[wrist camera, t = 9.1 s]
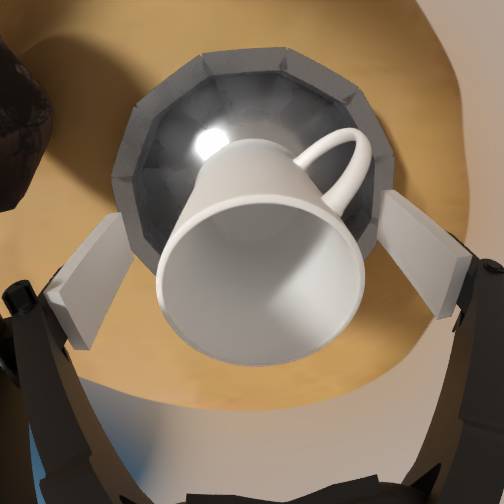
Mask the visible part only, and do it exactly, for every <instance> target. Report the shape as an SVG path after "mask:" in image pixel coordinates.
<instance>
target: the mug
mask: <svg viewBox="0 0 504 504" xmlns="http://www.w3.org/2000/svg"><path fill="white" fill-rule="evenodd" d="M348 141H356V148H355V151H354V154H353V157H352V159H351V161H350V163H349V165H348V166H347V168H346V170H345V171H344V173H343V174H342V175H341V177H340V178H339V180H338V181H337V182H336V183H335V184H334V186H333V187H332V188H331V189H330V190H329V191H327V192H326V193H325V194H324V195H322V193H321V192H320V191H319V189H318V188H317V187H316V185H315V184H314V183H313V182H312V180H311V179H310V178H309V175H308V173H307V171H306V169H307V168H308V167H309V166H310V165H311V163H313V162H314V161H315V160H316V159H317V158H318V157H320V156H321V155H322V154H324V153H325V152H327V151H328V150H330V149H332V148H333V147H335V146H337V145H339V144H342V143H345V142H348ZM371 156H372V149H371V144H370V142H369V140H368V138H367V137H366V136H365V135H364V134H363V133H362V132H361V131H359V130H358V129H355V128H343V129H339V130H336V131H334V132H332V133H330V134H328V135H326V136H324V137H323V138H321V139H320V140H318V141H317V142H315V143H314V144H313V145H311V146H310V147H309V148H307V149H306V150H305V151H304V152H303V153H301V154H300V155H299V156H298V157H297V156H296V155H295V154H293V153H292V152H291V151H290V150H288V149H287V148H285V147H284V146H282V145H280V144H278V143H275V142H272V141H269V140H264V139H242V140H238V141H234V142H231V143H229V144H227V145H225V146H223V147H221V148H220V149H218V150H217V151H215V152H214V153H213V154H212V155H211V156H210V157H209V158H208V159H207V160H206V161H205V163H204V164H203V166H202V167H201V169H200V171H199V173H198V175H197V178H196V181H195V186H194V190H193V191H192V193H191V195H190V197H189V199H188V201H187V203H186V205H185V207H184V209H183V211H182V213H181V215H180V217H179V219H178V221H177V223H176V225H175V227H174V229H173V231H172V233H171V235H170V237H169V239H168V241H167V244H166V246H165V248H164V250H163V252H162V255H161V258H160V261H159V264H158V268H157V275H156V292H157V298H158V302H159V305H160V308H161V310H162V313H163V315H164V317H165V319H166V320H167V322H168V324H169V325H170V327H171V328H172V329H173V330H174V332H175V333H176V334H177V335H178V336H179V337H180V338H181V339H182V340H183V341H184V342H186V343H187V344H188V345H189V346H191V347H192V348H194V349H195V350H197V351H199V352H200V353H202V354H204V355H206V356H208V357H211V358H213V359H216V360H219V361H222V362H225V363H229V364H234V365H240V366H251V367H263V366H274V365H280V364H285V363H289V362H293V361H296V360H299V359H302V358H304V357H307V356H309V355H311V354H313V353H315V352H317V351H318V350H320V349H322V348H323V347H325V346H326V345H328V344H329V343H330V342H332V341H333V340H334V339H335V338H336V337H337V336H339V335H340V334H341V333H342V331H343V330H344V329H345V328H346V327H347V326H348V324H349V323H350V322H351V320H352V319H353V317H354V315H355V314H356V312H357V310H358V308H359V305H360V303H361V300H362V297H363V293H364V287H365V267H364V261H363V257H362V254H361V251H360V249H359V247H358V244H357V242H356V241H355V239H354V237H353V236H352V234H351V233H350V231H349V230H348V228H347V227H346V225H345V224H344V223H343V221H342V220H341V219H340V217H341V216H342V214H343V212H344V210H345V208H346V206H347V205H348V204H349V202H350V201H351V199H352V198H353V197H354V195H355V194H356V192H357V191H358V189H359V187H360V186H361V184H362V182H363V180H364V178H365V176H366V174H367V171H368V169H369V166H370V162H371Z"/></svg>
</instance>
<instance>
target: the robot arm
mask: <svg viewBox="0 0 504 504" xmlns="http://www.w3.org/2000/svg"><path fill="white" fill-rule="evenodd" d="M377 240H378V241H379V242H380V243H381V245H382V246H383V247H384V248H385V250H386V251H387V252H388V253H389V255H390V256H391V257H392V259H393V260H394V261H395V262H396V264H397V265H398V266H399V268H400V269H401V270H402V272H403V273H404V274H405V276H406V277H407V278H408V280H409V281H410V282H411V284H412V285H413V286H414V288H415V289H416V291H417V292H418V293H419V295H420V296H421V298H422V299H423V300H424V302H425V303H426V305H427V306H428V308H429V309H430V310H431V312H432V313H433V315H434V316H435V318H436V319H437V320H438V319H442V318H446V317H450V316H452V313H453V311H454V308H455V306H456V304H457V305H458V306H459V308H460V309H461V311H460V314H459V316H458V319H457V321H456V323H455V326H454V328H453V330H452V332H455V330H456V332H455V336H454V341H453V346H452V351H451V355H450V360H449V364H448V368H447V372H446V375H445V379H444V383H443V386H442V390H441V393H440V397H439V400H438V403H437V406H436V410H435V412H434V415H433V418H432V421H431V424H430V427H429V429H428V432H427V435H426V437H425V440H424V442H423V445H422V447H421V450H420V452H419V454H418V457H417V459H416V461H415V463H414V465H413V466H412V468H411V469H410V471H409V472H408V474H407V475H406V477H405V478H404V480H403V481H402V483H401V484H396V483H389V482H379V481H378V477H377V474H376V475H372V476H368V477H365V478H360V479H356V480H352V481H347V482H343V483H338V484H333V485H331V486H328V487H326V488H323V489H321V490H318V491H316V492H313V493H311V494H308V495H306V496H303V497H300V498H297V499H295V500H292V501H289V502H273V501H265V500H259V499H252V498H247V497H242V496H236V495H204V494H187V495H186V502H181V503H177V504H499V503H500V499H501V496H502V493H503V489H504V268H503V266H502V265H501V264H499V263H497V262H496V261H493V260H491V259H481V260H480V259H479V258H478V257H477V256H476V255H475V254H474V253H472V252H471V251H470V250H469V249H468V248H467V247H466V246H464V244H463V243H462V242H459V240H458V239H457V238H456V237H455V236H454V235H453V234H451V233H449V232H447V231H445V230H444V229H443V228H441V227H440V226H439V225H438V224H437V223H436V222H434V221H433V220H432V219H431V218H430V217H428V216H427V215H426V214H425V213H423V212H422V211H421V210H420V209H419V208H417V207H416V206H415V205H413V204H412V203H411V202H410V201H408V200H407V199H406V198H404V197H403V196H402V195H401V194H399V193H398V192H397V191H395V190H381V202H380V212H379V221H378V230H377ZM133 260H134V258H133V255H132V251H131V248H130V244H129V241H128V237H127V234H126V230H125V226H124V222H123V219H122V215H121V212H118V213H111V214H107V216H106V217H105V218H104V219H103V220H102V221H101V222H100V223H99V224H98V225H97V227H96V228H95V229H94V230H93V231H92V232H91V233H90V235H89V236H88V237H87V238H86V239H85V240H84V242H83V243H82V244H81V245H80V246H79V247H78V249H77V250H76V251H75V252H74V253H73V255H72V256H71V257H70V258H69V260H68V261H67V262H66V263H65V264H64V265H63V266H62V267H60V268H59V269H58V270H57V272H56V273H55V274H54V275H53V277H52V278H51V279H50V281H49V283H47V285H46V286H45V287H44V289H43V290H42V291H41V293H40V294H39V295H38V297H37V296H36V294H35V292H34V290H33V288H32V286H31V284H30V282H29V281H28V280H20V281H18V282H15V283H14V284H12V285H11V286H9V287H8V288H7V289H6V290H5V292H4V293H3V295H2V299H3V301H4V303H5V305H6V307H7V308H8V310H9V312H10V314H11V315H12V317H8V318H4V319H3V318H2V316H1V314H0V364H1V365H2V368H1V366H0V504H38V502H37V497H36V491H35V486H34V479H33V471H32V463H31V453H30V440H29V424H30V427H31V430H32V434H33V437H34V441H35V444H36V447H37V450H38V453H39V456H40V459H41V462H42V464H43V467H44V470H45V473H46V478H44V479H41V480H40V484H39V486H40V489H41V493H42V495H43V498H44V500H45V502H46V504H154V503H153V502H152V501H151V500H150V499H149V498H148V497H147V496H146V495H145V494H144V493H143V492H142V490H141V489H140V488H139V486H138V485H137V484H136V482H135V481H134V479H133V478H132V476H131V475H130V473H129V472H128V470H127V469H126V467H125V466H124V464H123V462H122V461H121V459H120V458H119V456H118V454H117V453H116V451H115V449H114V448H113V446H112V444H111V443H110V441H109V439H108V437H107V435H106V434H105V432H104V430H103V428H102V426H101V424H100V422H99V421H98V419H97V417H96V415H95V413H94V411H93V409H92V407H91V405H90V403H89V400H88V398H87V396H86V394H85V392H84V390H83V387H82V385H81V383H80V381H79V378H78V376H77V374H76V371H75V369H74V366H73V364H72V361H71V359H70V356H69V354H68V351H67V350H66V348H65V347H64V344H65V343H66V341H67V339H68V340H69V342H70V344H71V345H72V347H73V349H74V350H90V348H91V346H92V344H93V341H94V339H95V337H96V335H97V332H98V330H99V328H100V326H101V324H102V322H103V319H104V317H105V315H106V313H107V311H108V309H109V307H110V305H111V303H112V301H113V299H114V297H115V295H116V293H117V291H118V289H119V287H120V285H121V283H122V281H123V279H124V277H125V275H126V273H127V271H128V269H129V267H130V265H131V264H132V262H133Z"/></svg>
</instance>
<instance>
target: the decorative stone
mask: <svg viewBox="0 0 504 504" xmlns="http://www.w3.org/2000/svg"><path fill="white" fill-rule="evenodd" d="M52 123H53V114H52V106H51V103H50V100H49V98H48V96H47V95H46V93H45V91H44V90H43V89H42V87H41V86H40V85H39V84H38V83H37V82H36V80H35V79H34V78H33V77H32V76H31V74H30V73H29V71H28V70H27V69H26V67H25V66H24V65H23V64H22V63H21V62H20V61H19V60H18V58H17V57H16V56H15V55H14V54H13V53H12V52H11V51H10V50H9V49H8V48H7V47H6V45H5V43H4V42H3V40H2V38H1V36H0V213H1V212H5V211H8V210H12V209H15V207H16V206H17V204H18V203H19V201H20V200H21V199H22V198H23V197H24V195H25V193H26V191H27V189H28V187H29V185H30V183H31V180H32V178H33V176H34V174H35V171H36V169H37V167H38V165H39V163H40V161H41V158H42V156H43V154H44V152H45V149H46V147H47V144H48V142H49V138H50V135H51V131H52Z"/></svg>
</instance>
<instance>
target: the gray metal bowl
mask: <svg viewBox="0 0 504 504" xmlns="http://www.w3.org/2000/svg"><path fill="white" fill-rule="evenodd" d="M202 57H203V58H202ZM202 57H201V56H200V55H198V56H197V57H195V58H194V59H192V60H191V61H189V62H188V63H187V64H185V65H184V66H183V67H181V68H180V69H179V70H177V71H176V72H175V73H173V74H172V75H171V76H169V77H168V78H167V79H165V80H164V81H163V82H162V83H160V84H159V85H158V86H157V87H155V88H154V89H153V90H152V91H151V92H149V93H148V94H147V95H146V96H145V97H143V98H142V99H141V100H140V101H139V102H138V103H136V105H137V106H135V107H134V108H133V110H132V113H131V116H130V118H129V121H128V124H127V127H126V129H125V132H124V135H123V138H122V141H121V144H120V147H119V150H118V153H117V157H116V160H115V163H114V166H113V170H112V173H111V176H112V178H111V183H112V188H113V192H114V197H115V201H116V205H117V210H118V212H121V215H122V219H123V222H124V226H125V230H126V234H127V237H128V241H129V244H130V248H131V250H132V251H133V252H134V254H135V255H136V256H137V257H138V258H139V259H140V260H141V261H142V262H143V263H144V264H145V265H146V267H147V268H148V269H149V270H150V271H151V272H152V273H153V274H154V275H155V276H156V275H157V268H158V264H159V261H160V258H161V255H162V252H163V250H164V248H165V246H166V244H167V241H168V239H169V237H170V235H171V233H172V231H173V229H174V227H175V225H176V223H177V221H178V219H179V217H180V215H181V213H182V211H183V209H184V207H185V205H186V203H187V201H188V199H189V197H190V195H191V193H192V191H193V190H194V186H195V181H196V178H197V175H198V173H199V171H200V169H201V167H202V166H203V164H204V163H205V161H206V160H207V159H208V158H209V157H210V156H211V155H212V154H213V153H214V152H215V151H217V150H218V149H220V148H221V147H223V146H225V145H227V144H229V143H231V142H234V141H238V140H242V139H264V140H269V141H272V142H275V143H278V144H280V145H282V146H284V147H285V148H287V149H288V150H290V151H291V152H292V153H293V154H295V155H296V156H297V157H298V156H299V155H300V154H301V153H303V152H304V151H305V150H306V149H307V148H309V147H310V146H311V145H313V144H314V143H315V142H317V141H318V140H320V139H321V138H323V137H324V136H326V135H328V134H330V133H332V132H334V131H336V130H339V129H343V128H355V129H358V130H359V131H361V132H362V133H363V134H364V135H365V136H366V137H367V138H368V140H369V142H370V144H371V149H372V156H371V162H370V166H369V169H368V171H367V174H366V176H365V178H364V180H363V182H362V184H361V186H360V187H359V189H358V191H357V192H356V194H355V195H354V197H353V198H352V199H351V201H350V202H349V204H348V205H347V206H346V208H345V210H344V212H343V214H342V216H341V217H340V219H341V220H342V221H343V223H344V224H345V225H346V227H347V228H348V230H349V231H350V233H351V234H352V236H353V237H354V239H355V241H356V242H357V244H358V247H359V249H360V251H361V254H362V257H363V261H365V260H366V258H367V257H368V255H369V254H370V252H371V251H372V250H373V248H374V247H375V245H376V244H377V242H378V240H377V230H378V221H379V212H380V202H381V190H393V179H394V163H395V157H394V156H392V155H394V152H393V150H392V148H391V146H390V144H389V142H388V140H387V138H386V135H385V133H384V131H383V129H382V127H381V125H380V123H379V122H378V120H377V118H376V116H375V114H374V112H373V110H372V108H371V106H370V105H369V103H368V101H367V99H366V97H365V96H364V94H363V92H362V90H361V89H358V88H359V87H358V86H356V85H355V84H353V83H351V82H350V81H348V80H347V79H345V78H343V77H342V76H340V75H338V74H337V73H335V72H333V71H331V70H330V69H328V68H326V67H324V66H323V65H321V64H319V63H317V62H315V61H313V60H312V59H310V58H308V57H306V56H304V55H302V54H300V53H298V52H296V51H294V50H292V49H290V48H288V49H287V51H286V47H273V48H252V49H238V50H227V51H218V52H210V53H202ZM355 148H356V141H348V142H345V143H342V144H339V145H337V146H335V147H333V148H332V149H330V150H328V151H327V152H325V153H324V154H322V155H321V156H320V157H318V158H317V159H316V160H315V161H314V162H313V163H311V165H310V166H309V167H308V168H307V169H306V171H307V173H308V175H309V178H310V179H311V180H312V182H313V183H314V184H315V185H316V187H317V188H318V189H319V191H320V192H321V193H322V195H324V194H325V193H326V192H327V191H329V190H330V189H331V188H332V187H333V186H334V184H335V183H336V182H337V181H338V180H339V178H340V177H341V175H342V174H343V173H344V171H345V170H346V168H347V166H348V165H349V163H350V161H351V159H352V157H353V154H354V151H355Z"/></svg>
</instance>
